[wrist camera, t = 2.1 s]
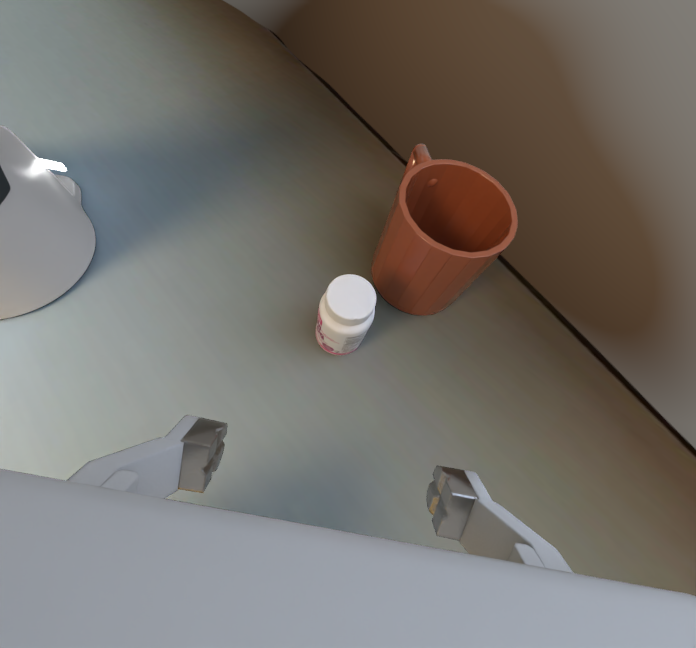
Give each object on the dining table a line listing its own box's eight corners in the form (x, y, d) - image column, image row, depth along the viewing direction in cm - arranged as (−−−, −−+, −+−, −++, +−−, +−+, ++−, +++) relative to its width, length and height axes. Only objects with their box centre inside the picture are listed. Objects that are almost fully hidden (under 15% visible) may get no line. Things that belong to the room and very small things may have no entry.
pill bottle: (306, 326, 33) (309, 284, 26) (345, 304, 35) (359, 259, 27) (331, 365, 32) (343, 334, 24) (371, 341, 34) (393, 305, 26)
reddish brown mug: (471, 308, 37) (537, 250, 27) (384, 322, 35) (421, 264, 25) (431, 206, 42) (474, 125, 32) (353, 212, 40) (373, 127, 30)
